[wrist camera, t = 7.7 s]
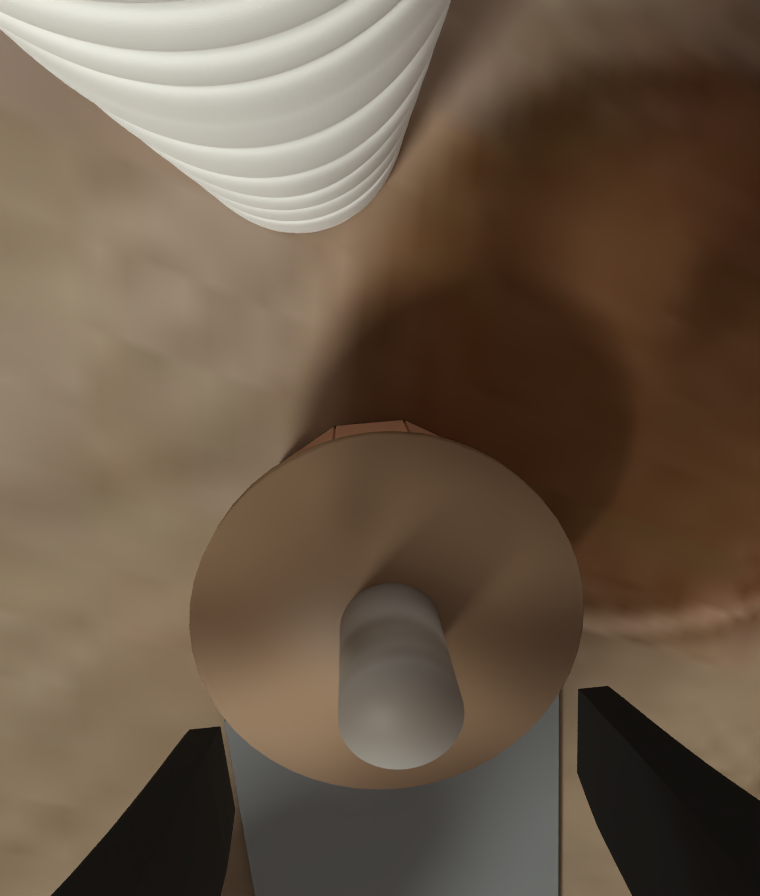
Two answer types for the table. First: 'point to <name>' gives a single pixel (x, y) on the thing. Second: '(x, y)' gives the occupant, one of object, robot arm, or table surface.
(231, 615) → the lid
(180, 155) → the water bottle
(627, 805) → the robot arm
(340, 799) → the mat
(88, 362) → the table surface
